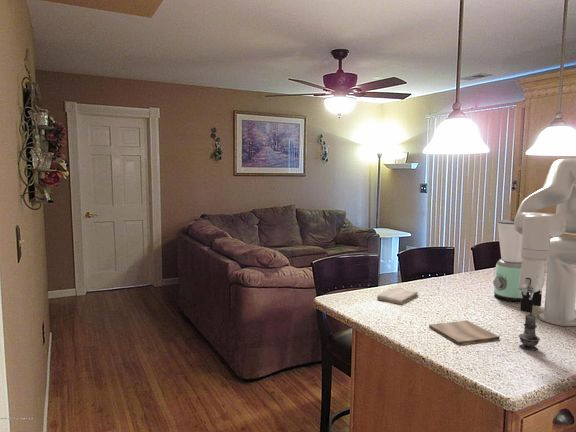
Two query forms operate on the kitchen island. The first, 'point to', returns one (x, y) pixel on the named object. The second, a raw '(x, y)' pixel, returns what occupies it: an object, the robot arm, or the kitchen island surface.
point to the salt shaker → (529, 334)
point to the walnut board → (463, 332)
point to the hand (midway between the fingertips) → (530, 308)
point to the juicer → (508, 262)
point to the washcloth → (397, 295)
